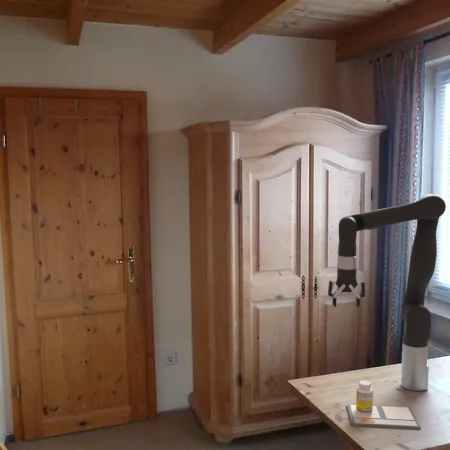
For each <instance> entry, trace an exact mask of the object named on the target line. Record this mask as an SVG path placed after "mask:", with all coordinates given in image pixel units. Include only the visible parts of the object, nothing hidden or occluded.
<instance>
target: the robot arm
mask: <svg viewBox="0 0 450 450" xmlns="http://www.w3.org/2000/svg"><path fill="white" fill-rule="evenodd" d="M446 208H447V204H446V202H445V200H444V199H443V197H441V196H440V195H436V194H430V193H429V194H425V195H423V196H421V197H420V198H419V199H418V200H417V201H414V202H411V203H407V204H403V205H399V206H391V207H384V208H380V209H379V208H378V209H374V210H370V211H367V212H363V213H359V214H358V213H357V214H351V215H346V216H343V217H342V218H341V219H340V220H339V222H338V246H337V247H338V249H337V250H338V251H337V255H338V256H337V262H336V263H337V264H336V281H333V280H330V279H329V280H328V288H327V289H328V290H327V295H328V296H329V297H331V298H332V306H334V308H337V296H338V295H339V294H341V293H353V294H354V295H355V308H357V309H358V308H359V307H360V306H361V298H364V297H366V288H365V287H366V283H365V282H364V281H363V280H361V281H358V280H357V274H358V271H357V267H358V264H357V263H358V259H357V233H358V232H360V231H365V230H367V231H368V230H369V231H370V230H375V229H380V228H384V227H390V226H392V225H397V224H401V223H405V222H410V221H416V230H415V235H414V238H413V242H412V247H411V253H410V257H409V264H408V265H409V266H408V268H409V269H408V274H407V281H406V282H407V284H406V290H405V294H404V299H403V302H402V305H401V311H400V313H401V318H402V319H403V321H404V322H405V324H406V325H405V334H403V336H402V347H401V348H402V349H401V350H402V351H401V375H400V377H401V378H400V385H401V387H402V388H404V389H406V390H408V391H412V392H413V391H414V392H421V391H428V390H429V389H428V388H429V365H428V351H429V350H428V349H429V347H428V345H429V340H430V338H431V330H432V329H431V328H432V315H431V311H430V310H429V309H428V308H427V306H425V298H426V297H425V296H426V290H427V288H428V285H429V283H430V281H431V280H432V279H433V276H434V273H435V269H436V263H437V257H438V256H437V255H438V254H437V253H438V249H437V248H438V246H437V244H438V243H437V241H438V240H437V230H438V224H439V220H440V217H442V216H443V214H445V212H446V210H447V209H446ZM335 285H336V287H337V288H336V289H335V291H334V292H333V288H334V287H335ZM356 287H360V293H359V292H358V291H357V290H356Z"/></svg>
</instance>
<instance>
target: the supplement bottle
mask: <svg viewBox="0 0 450 450" xmlns="http://www.w3.org/2000/svg"><path fill="white" fill-rule="evenodd" d="M355 399H356V401H355V402H356V403H355V405H356V409H357V411H358V412H360V413H362V414H370V413H372V411H373V405H374V389H373V387H372V383H371V382H370V381H368V380H359V382H358V386H357V387H356V398H355Z"/></svg>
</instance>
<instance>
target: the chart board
mask: <svg viewBox="0 0 450 450" xmlns="http://www.w3.org/2000/svg"><path fill="white" fill-rule="evenodd" d="M346 409H347V412H348V417H349V419H350V421H349V422H350V424H351V426H355V427H356V426H357V427H369V428H371V427H372V428H388V429H389V428H391V429H405V430H406V429H407V430H408V429H409V430H421V428H422V427H421V424H420V423H419V421H418V419H417V416H415V414H414V412H413V409H412V408H411V407H410V406H395V405H394V406H393V405H392V406H390V405H374V404H373V411H372V413H370V414H362V413H360V412H358V411H357V409H356V403H354V404H350V403H346Z"/></svg>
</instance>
